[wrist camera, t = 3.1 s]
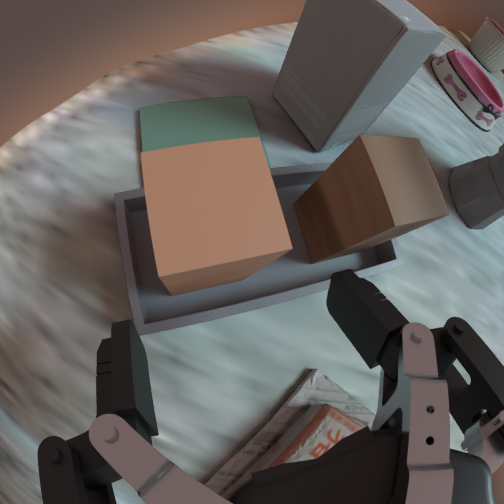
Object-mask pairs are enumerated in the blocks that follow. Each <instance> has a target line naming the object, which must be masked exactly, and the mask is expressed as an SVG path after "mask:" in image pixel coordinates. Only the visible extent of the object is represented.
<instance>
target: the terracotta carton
mask: <svg viewBox="0 0 504 504" xmlns="http://www.w3.org/2000/svg"><path fill="white" fill-rule="evenodd" d="M141 163H142V172H143V181H144V190H145V198H146V205H147V212H148V219H149V226H150V232H151V238H152V244H153V250H154V255H155V261H156V266H157V271H158V276H159V278H160V280H161V281H162V282H163V284H164V285H165V286H166V288H167V289H168V290H169V292H170V293H171V295H172V296H175V295H180V294H185V293H189V292H194V291H199V290H203V289H208V288H212V287H217V286H221V285H226V284H230V283H235V282H239V281H243V280H244V279H246V278H247V277H249V276H251V275H252V274H254V273H255V272H257V271H258V270H260V269H262V268H263V267H265V266H266V265H268V264H269V263H271V262H273V261H274V260H276V259H277V258H279V257H280V256H282V255H284V254H285V253H287V252H288V251H290V250H291V249H293V248H292V244H291V241H290V237H289V233H288V230H287V226H286V223H285V219H284V216H283V212H282V209H281V206H280V202H279V199H278V195H277V192H276V189H275V185H274V182H273V179H272V176H271V172H270V169H269V166H268V163H267V159H266V156H265V153H264V150H263V147H262V144H261V140H260V137H251V138H239V139H229V140H220V141H211V142H203V143H196V144H189V145H182V146H175V147H169V148H163V149H157V150H152V151H147V152H141Z"/></svg>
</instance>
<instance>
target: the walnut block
mask: <svg viewBox="0 0 504 504" xmlns="http://www.w3.org/2000/svg"><path fill="white" fill-rule="evenodd" d="M294 207H295V210H296V214H297V217H298V221H299V224H300V227H301V231H302V234H303V238H304V241H305V245H306V248H307V252H308V255H309V259H310V263H311V264H314V263H318V262H323V261H327V260H330V259H334V258H338V257H342V256H346V255H350V254H354V253H358V252H362V251H364V250H367V249H369V248H372V247H374V246H376V245H379V244H381V243H384V242H386V241H389V240H391V239H393V238H396V237H398V236H401V235H403V234H405V233H408V232H410V231H412V230H415V229H417V228H419V227H422V226H424V225H426V224H429V223H431V222H433V221H435V220H438V219H440V218H442V217H444V216H447V215H449V211H448V209H447V206H446V203H445V200H444V197H443V195H442V192H441V189H440V187H439V184H438V182H437V179H436V177H435V174H434V172H433V169H432V167H431V165H430V162H429V160H428V158H427V156H426V153H425V151H424V149H423V147H422V145H421V143H420V141H419V139H418V138H407V137H394V136H378V135H359V136H358V137H357V138H356V139H355V140H354V141H353V142H352V143H351V144H350V145H349V146H348V147H347V149H346V150H345V151H344V152H343V153H342V154H341V155H340V156H339V157H338V158H337V159H336V160H335V161H334V162H333V163H332V164H331V165H330V166H329V167H328V168H327V169H326V170H325V171H324V172H323V173H322V174H321V176H320V177H319V178H318V179H317V180H316V181H315V182H314V183H313V184H312V185H311V186H310V187H309V188H308V189H307V190H306V191H305V192H304V193H303V194H302V195H301V196H300V197H299V198H298V199H297V200H296V202H295V203H294Z"/></svg>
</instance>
